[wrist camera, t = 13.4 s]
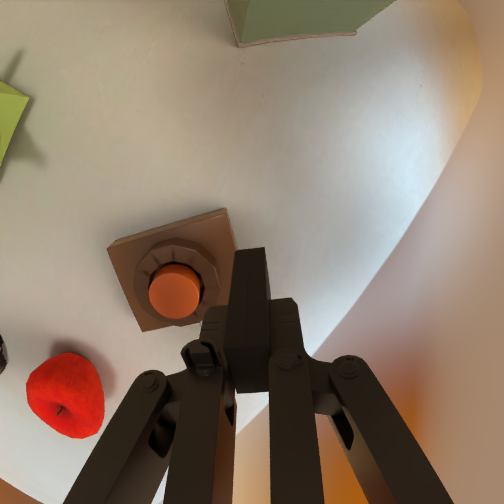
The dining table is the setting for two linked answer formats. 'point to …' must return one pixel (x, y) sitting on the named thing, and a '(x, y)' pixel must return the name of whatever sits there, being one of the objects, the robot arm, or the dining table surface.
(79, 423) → the apple
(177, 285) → the button
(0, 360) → the decorative flower
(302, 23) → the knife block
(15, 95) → the teapot
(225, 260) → the brown button base
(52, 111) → the dining table surface
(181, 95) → the dining table surface
